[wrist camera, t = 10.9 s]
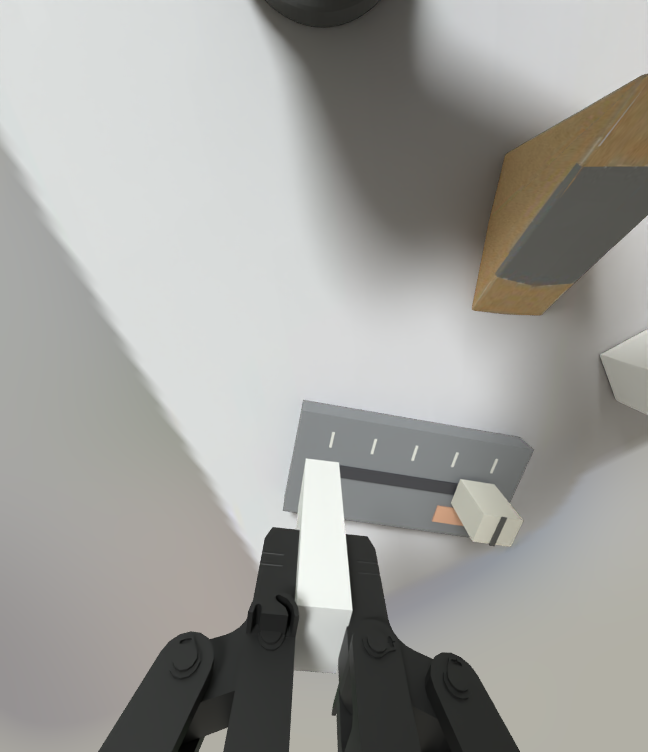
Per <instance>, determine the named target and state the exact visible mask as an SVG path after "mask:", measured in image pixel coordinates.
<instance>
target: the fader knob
mask: <svg viewBox="0 0 648 752" xmlns="http://www.w3.org/2000/svg"><path fill="white" fill-rule="evenodd" d="M451 504H452V506H453V508H454V510H455V511H456V513H457V515H458V517H459V519H460V520H461V522H462V524H463V526H464V527H465V529H466V531H467V533H468V535H469V536H470V538H471V540H472V542H479V543H486V544H489V545H490V546H495V545H501V546H508V547H511V545H512V543H513V541H514V539H515V537H516V535H517V533H518V531H519V529H520V527H521V525H522V523H523V519H522V518H521V517H520V516H519V514H518V513H517V512H516V511H515V509H514V508H513V507H512V506H511V504H510V503H509V502H508V501H507V499H506V498H505V497H504V496H503V494H502V493H501V492H500V491H499V489H498V488H497V487H496V486H495V484H489V483H483V482H476V481H470V480H464V479H460V481H459V483H458V486H457V489H456V491H455V494H454V496H453V499H452V501H451Z"/></svg>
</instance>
